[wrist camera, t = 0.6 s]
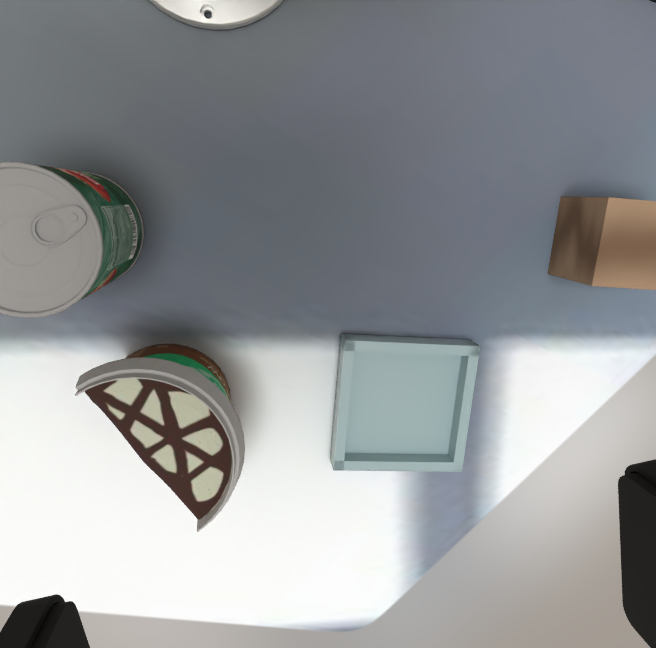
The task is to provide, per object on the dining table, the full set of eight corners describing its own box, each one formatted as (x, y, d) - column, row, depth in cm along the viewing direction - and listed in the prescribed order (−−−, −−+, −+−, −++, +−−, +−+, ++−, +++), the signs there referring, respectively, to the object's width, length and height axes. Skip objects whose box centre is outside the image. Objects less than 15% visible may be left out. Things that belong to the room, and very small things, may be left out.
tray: (340, 333, 42) (344, 340, 40) (470, 339, 44) (480, 346, 42) (330, 458, 44) (333, 470, 42) (453, 459, 46) (461, 471, 44)
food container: (278, 418, 43) (284, 483, 33) (215, 461, 43) (203, 538, 34) (181, 294, 40) (157, 325, 30) (114, 341, 40) (68, 387, 30)
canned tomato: (66, 303, 39) (-5, 343, 28) (3, 202, 37) (-100, 205, 26) (165, 254, 39) (131, 277, 28) (107, 151, 37) (47, 133, 26)
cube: (560, 196, 42) (608, 197, 36) (630, 202, 43) (689, 204, 37) (547, 273, 43) (591, 285, 37) (615, 278, 44) (669, 290, 38)
